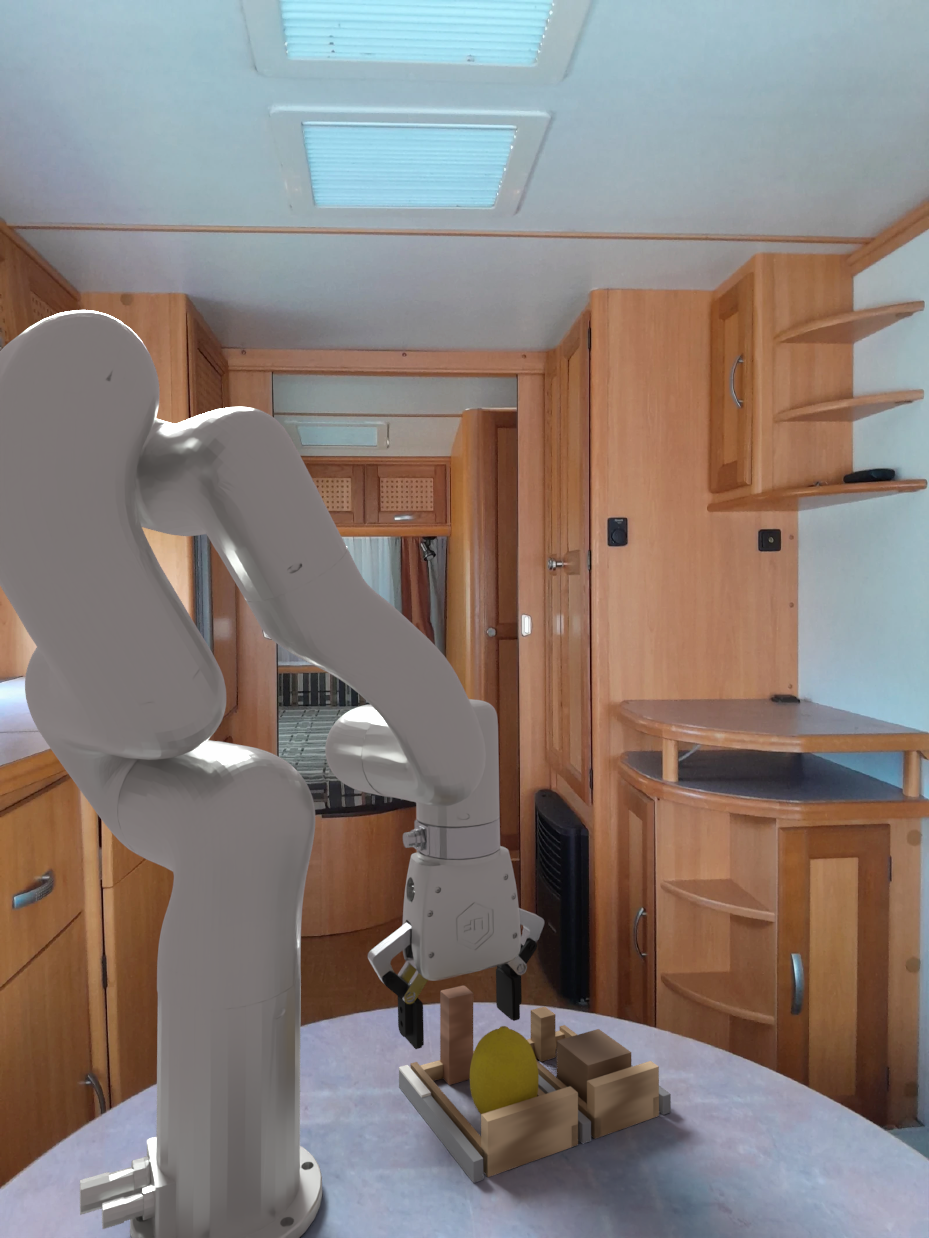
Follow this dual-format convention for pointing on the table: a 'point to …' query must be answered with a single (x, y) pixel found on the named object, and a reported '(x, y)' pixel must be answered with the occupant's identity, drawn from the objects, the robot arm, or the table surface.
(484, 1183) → the table surface
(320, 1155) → the table surface
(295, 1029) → the robot arm
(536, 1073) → the lemon
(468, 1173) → the lane rails
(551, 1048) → the cube
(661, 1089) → the rail right
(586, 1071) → the walnut cube
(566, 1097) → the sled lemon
